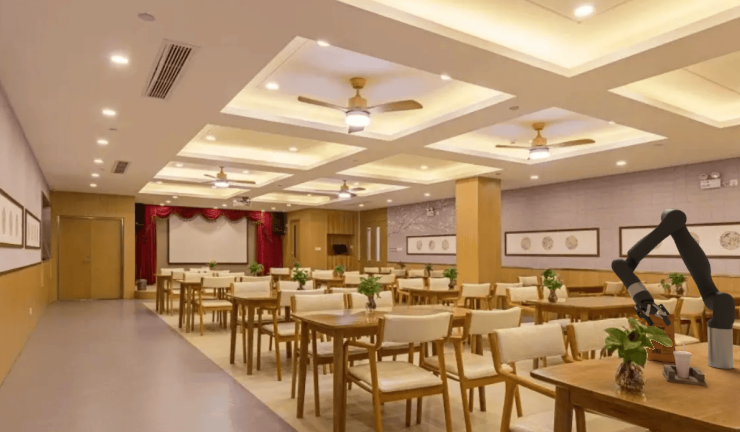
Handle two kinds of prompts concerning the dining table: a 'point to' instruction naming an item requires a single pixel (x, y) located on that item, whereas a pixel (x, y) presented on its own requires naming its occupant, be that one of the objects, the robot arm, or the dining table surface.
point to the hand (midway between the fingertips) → (660, 325)
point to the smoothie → (682, 362)
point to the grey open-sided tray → (693, 378)
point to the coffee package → (660, 350)
